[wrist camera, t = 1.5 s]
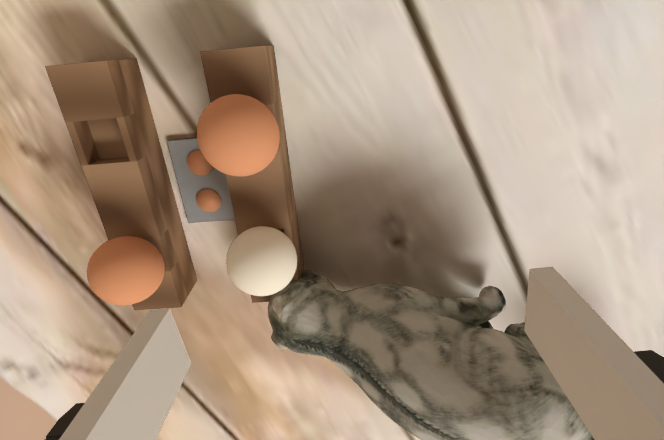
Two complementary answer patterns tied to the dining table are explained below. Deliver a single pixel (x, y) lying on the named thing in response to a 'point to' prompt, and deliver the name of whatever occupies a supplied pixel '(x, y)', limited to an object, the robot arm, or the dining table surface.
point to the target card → (200, 183)
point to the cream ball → (261, 261)
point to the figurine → (429, 359)
